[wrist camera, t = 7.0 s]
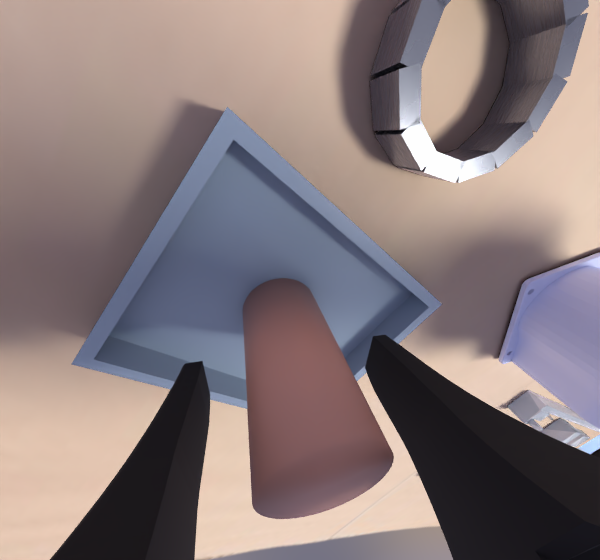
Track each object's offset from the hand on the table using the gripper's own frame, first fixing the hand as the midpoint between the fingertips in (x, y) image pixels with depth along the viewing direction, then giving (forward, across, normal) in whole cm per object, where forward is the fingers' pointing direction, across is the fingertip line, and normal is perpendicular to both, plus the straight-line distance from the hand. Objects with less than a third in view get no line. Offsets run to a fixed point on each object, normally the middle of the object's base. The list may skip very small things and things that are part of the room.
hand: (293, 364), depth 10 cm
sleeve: (+4, -7, -11) cm, 13 cm away
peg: (+4, 0, 0) cm, 4 cm away
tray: (+4, 0, 0) cm, 4 cm away
